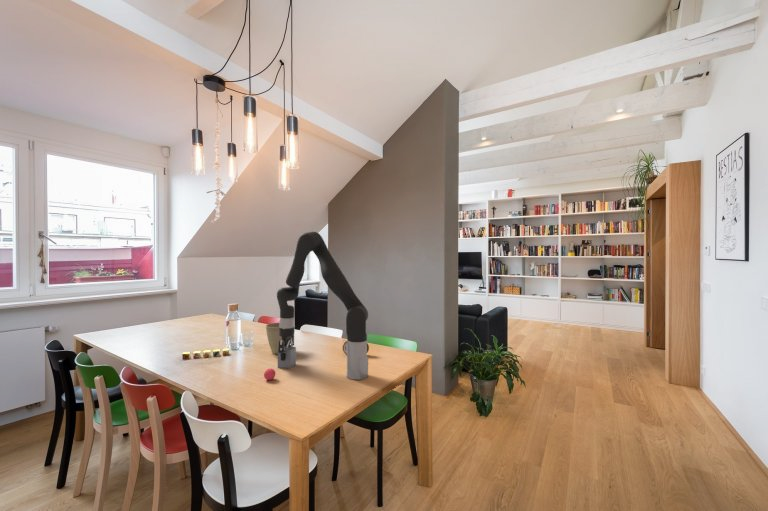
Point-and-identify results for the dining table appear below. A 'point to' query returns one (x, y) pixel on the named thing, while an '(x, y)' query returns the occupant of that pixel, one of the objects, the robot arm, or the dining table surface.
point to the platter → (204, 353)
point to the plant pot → (273, 336)
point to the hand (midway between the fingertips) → (286, 357)
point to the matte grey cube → (287, 358)
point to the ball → (269, 374)
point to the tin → (346, 347)
